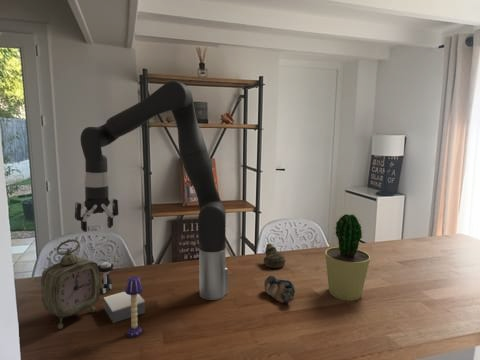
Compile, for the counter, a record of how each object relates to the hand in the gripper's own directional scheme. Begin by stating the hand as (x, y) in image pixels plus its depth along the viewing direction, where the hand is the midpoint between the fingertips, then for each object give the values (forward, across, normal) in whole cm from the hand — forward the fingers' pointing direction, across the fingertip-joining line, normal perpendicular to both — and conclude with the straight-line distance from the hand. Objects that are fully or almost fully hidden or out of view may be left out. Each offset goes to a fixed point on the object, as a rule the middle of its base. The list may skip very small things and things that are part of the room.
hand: (97, 229), depth 117 cm
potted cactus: (+20, +66, -61) cm, 92 cm away
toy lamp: (+22, -1, -34) cm, 41 cm away
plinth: (+22, +1, -21) cm, 30 cm away
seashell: (+21, +64, -29) cm, 74 cm away
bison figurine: (+20, +45, -48) cm, 69 cm away
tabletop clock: (+23, -13, -14) cm, 30 cm away
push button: (+23, +2, -3) cm, 23 cm away
